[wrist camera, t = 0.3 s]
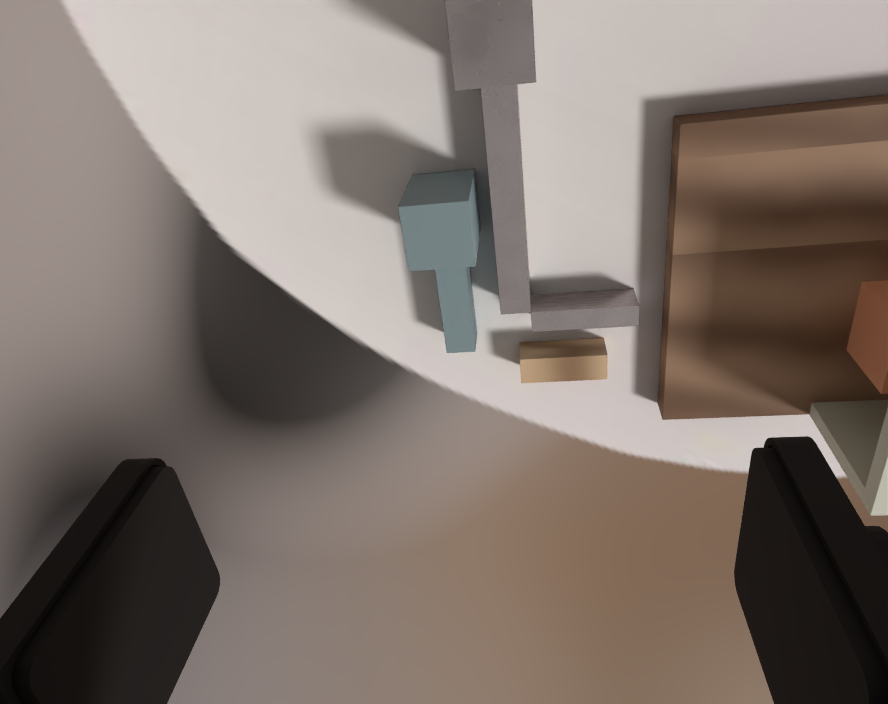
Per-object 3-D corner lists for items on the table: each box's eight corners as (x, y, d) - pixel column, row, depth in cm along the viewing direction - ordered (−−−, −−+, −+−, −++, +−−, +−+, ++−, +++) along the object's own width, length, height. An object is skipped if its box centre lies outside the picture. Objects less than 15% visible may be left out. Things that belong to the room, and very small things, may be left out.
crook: (456, -10, 37) (444, 0, 31) (643, -35, 35) (667, -29, 29) (489, 316, 48) (485, 370, 42) (633, 307, 46) (650, 362, 40)
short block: (521, 364, 50) (521, 383, 48) (519, 341, 49) (519, 359, 46) (603, 359, 49) (607, 379, 47) (603, 336, 48) (607, 355, 46)
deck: (673, 116, 39) (680, 124, 37) (1137, 69, 36) (1168, 75, 34) (657, 403, 50) (662, 419, 48) (1011, 388, 47) (1030, 405, 45)
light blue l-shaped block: (412, 174, 43) (398, 207, 37) (474, 168, 42) (468, 200, 37) (436, 335, 49) (426, 382, 44) (490, 332, 48) (487, 379, 43)
